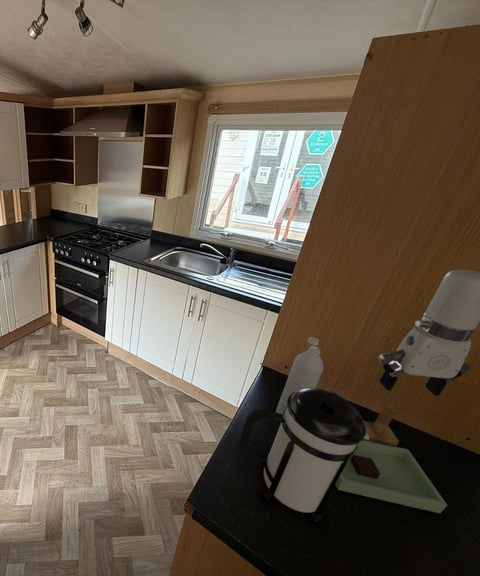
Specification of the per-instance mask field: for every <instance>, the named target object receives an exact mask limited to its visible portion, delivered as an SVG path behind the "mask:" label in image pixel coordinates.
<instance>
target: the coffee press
mask: <svg viewBox="0 0 480 576" xmlns="http://www.w3.org/2000/svg"><path fill="white" fill-rule="evenodd" d="M283 416H284V417H283ZM260 420H270V421H275V422H279V423H280V424H279V427H278V430H277V433H276V436H275V438H274V440H273V443H272V446H271V449H270V451H269V452H268V454H267V456H266V457H262V456H260V455H257V454H255V453H253V452H251V450H250V449H249V447H248V444H249V442H250V438H251V436H252V432H253V430H254V427H255V424H256V423H257V422H258V421H260ZM363 421H364V419H363V417H362V415H361V413H360V411H359V410H358V409H357V408H356V407H355V406H354V405H353V404H352V403H351V402H350V401H348V400H347V399H345V398H344V397H343V396H340V395H339V394H337V393H335V392H332V391H330V390H327V389H325V388H324V389H323V388H318V387H316V388H303V389H300V390H298V391H295V392H293V393H292V394H290V396H289V397H288V400H287V408H286V409H285V410H284V413H283V414H279V413H276V411H274V410H271V409H263V408H260V409H256V410H253V411H251V412H250V413H249V414H248V415H247V417H246V419H245V421H244V424H243V427H242V430H241V433H240V437H239V443H238V449H239V452H240V454H241V455H242V456H243V457H244V459H246V460H247V461H249V462H252V463H254V464H256V465H258V466H261V468H263V479H264V482H265V484H266V486H267V488H268V490H267V491H265V492H264V493H263V495H262V499H263V500H264V501H265V502H266V504H270V503H271V502H273V501H274V500H275V499H277V500H278V501H279V502H280V503H282V504H283V505H284V506H287V507H288V508H290V509H292V510H294V511H297V512H301V513H309V516H310V519H311V520H312V522H313V523H314V524H315V525H319V524H322V523H323V522H324V518H323V515H322V509H323V507H324V505H325V503H326V502H327V500H328V498H329V496H330V494H331V492H332V491H333V489H334V487H335V486H336V485H335V483H336V482H337V480H338V478H339V476H340V475H341V473H342V471H343V469H344V467H345V466H346V464H347V461H348V460H349V459H350V458H351V457H352V455H353V454H354V452H355V450H356V448H357V444H358V443H360V442H361V441H362V440H363V439H367V440H369V436H368V434H367V432H366V427H365V424H364V422H363Z"/></svg>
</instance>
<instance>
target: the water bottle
mask: <svg viewBox="0 0 480 576" xmlns="http://www.w3.org/2000/svg"><path fill="white" fill-rule="evenodd" d="M307 343H308V344H310V346H309V347H308V348H307V350H306V351H303V352H302V353H299V354H298V355H296V356H295V358H294V359H293V363H292V366H291V369H290V371H289V374H288V377H287V379H286V382H285V385H284V387H283V391H282V392H281V395H280V399H279V401H278V404H277V407H276V409H275V413H279V414H283V413H284V410H285V409H286V408H287V400H288V397H289V396H290V394H292V393H293V392H295V391H298V390H300V389H303V388H317V385H318V383H319V381H320V379H321V376H322V374H323V372H324V367H325V366H324V362H323V360H322V358H321V355H320V354H321V348H319V347H318V345H319V344H320V340H319V338H317V337H314V336H309V337H308V338H307ZM283 417H284V416H283Z"/></svg>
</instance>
